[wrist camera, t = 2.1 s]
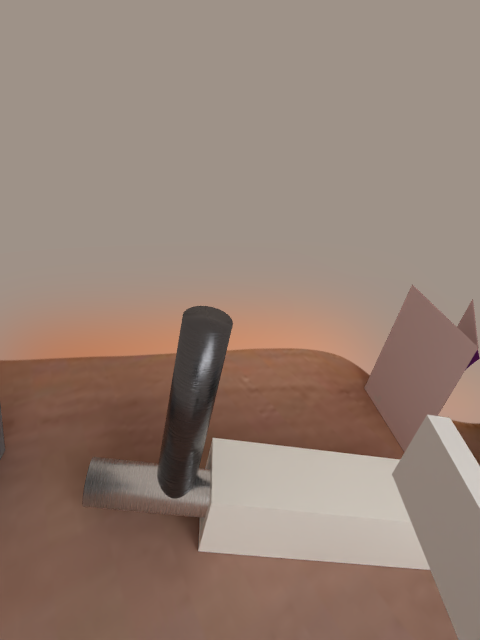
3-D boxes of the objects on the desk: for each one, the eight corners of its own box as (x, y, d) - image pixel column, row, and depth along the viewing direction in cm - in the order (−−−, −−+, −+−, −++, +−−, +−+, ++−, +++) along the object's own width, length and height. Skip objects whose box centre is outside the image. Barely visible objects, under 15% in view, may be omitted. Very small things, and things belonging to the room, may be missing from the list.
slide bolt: (390, 506, 40) (487, 348, 31) (404, 545, 37) (517, 382, 28) (93, 477, 36) (103, 287, 27) (82, 517, 33) (88, 318, 24)
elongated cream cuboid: (406, 505, 42) (433, 463, 39) (431, 570, 37) (465, 527, 34) (201, 484, 39) (212, 437, 36) (198, 551, 34) (211, 503, 31)
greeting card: (418, 464, 47) (488, 351, 39) (350, 434, 49) (405, 320, 41) (423, 402, 56) (481, 301, 48) (366, 379, 58) (413, 278, 50)
